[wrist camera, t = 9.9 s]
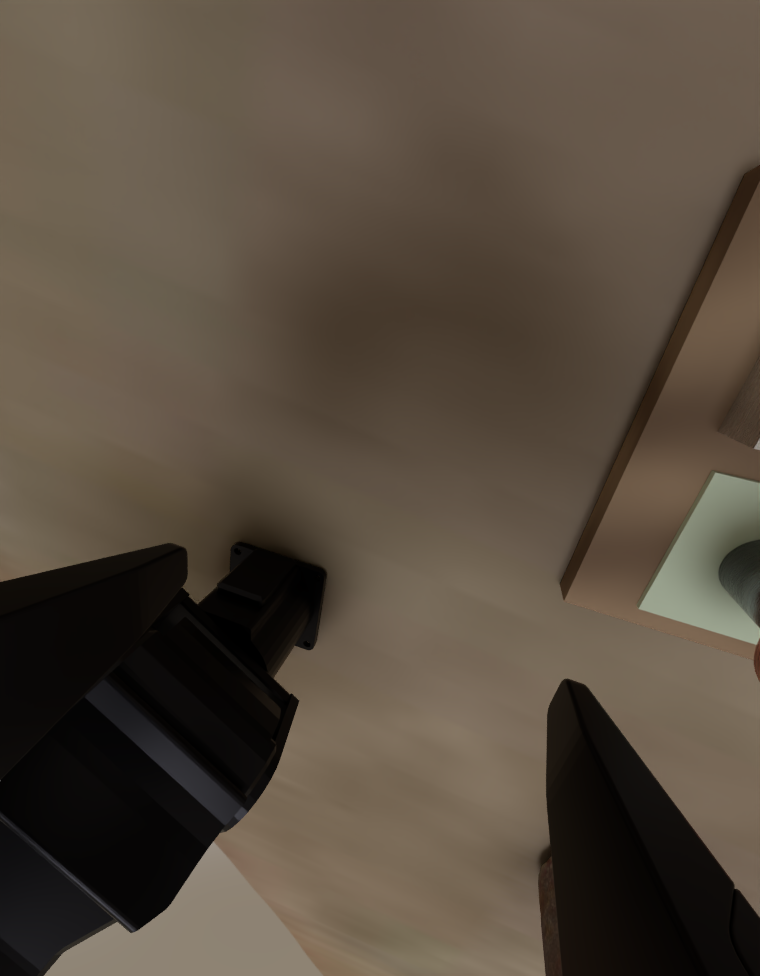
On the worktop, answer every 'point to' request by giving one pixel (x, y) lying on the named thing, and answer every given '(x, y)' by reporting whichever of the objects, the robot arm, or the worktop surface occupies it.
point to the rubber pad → (707, 559)
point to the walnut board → (679, 434)
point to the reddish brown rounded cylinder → (744, 583)
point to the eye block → (745, 412)
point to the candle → (549, 920)
